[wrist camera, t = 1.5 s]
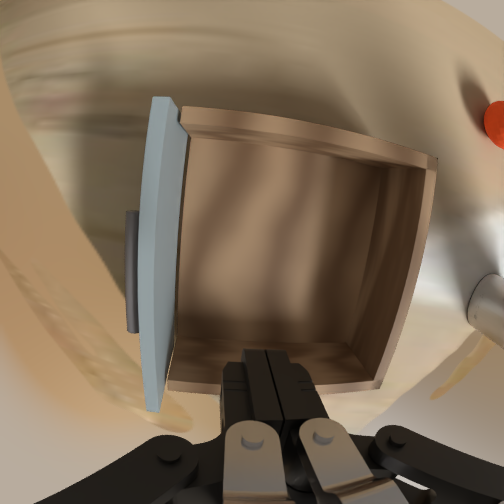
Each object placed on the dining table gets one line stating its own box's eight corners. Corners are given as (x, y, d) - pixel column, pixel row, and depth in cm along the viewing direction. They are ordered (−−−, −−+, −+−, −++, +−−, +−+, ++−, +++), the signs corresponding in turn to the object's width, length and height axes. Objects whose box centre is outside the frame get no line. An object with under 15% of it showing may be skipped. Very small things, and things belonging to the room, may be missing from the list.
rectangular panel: (189, 126, 24) (170, 96, 14) (174, 344, 29) (159, 412, 19) (165, 124, 24) (133, 96, 14) (154, 342, 29) (132, 408, 19)
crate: (385, 159, 28) (437, 158, 20) (347, 344, 34) (379, 388, 25) (194, 127, 26) (182, 106, 17) (178, 337, 31) (167, 390, 22)
